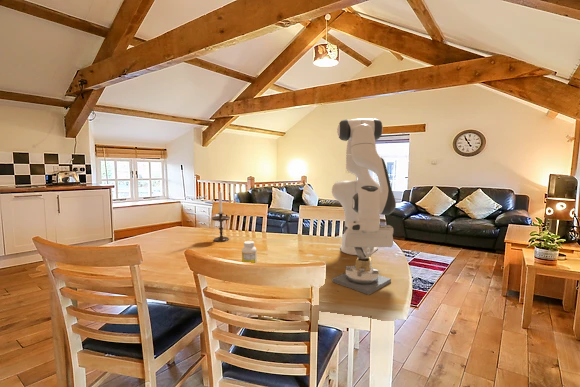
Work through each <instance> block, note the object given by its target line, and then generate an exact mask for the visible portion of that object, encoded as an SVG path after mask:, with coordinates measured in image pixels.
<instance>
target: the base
mask: <svg viewBox="0 0 580 387" xmlns="http://www.w3.org/2000/svg"><path fill="white" fill-rule="evenodd" d="M331 281H332V282H333V283H335V284H338V285H340V286H343V287H346V288H349V289H351V290H354V291H356V292H359V293H362V294H365V295H368V296H370V295H371V294H373V293H375V292H376V291H378V290H380V289H382V288H384V287H386V286H387V285H389V284H391V283H392V278H391V277H387V276H384V275H380V274H378V281H377V282H376V283H373V284H358V283H354V282H351V281H349V280H347V279H346V272H344V273H341V274H339V275H337V276H335V277H332V280H331Z"/></svg>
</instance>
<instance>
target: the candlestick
mask: <svg viewBox="0 0 580 387" xmlns="http://www.w3.org/2000/svg"><path fill="white" fill-rule="evenodd" d="M218 188H219V191H218V211H219V212H217V214H218V216H217V215H216V216H212V217H211V221H216V222H217V221H218V222H219V227H218V230H219V236H218V237H214V238H213V241H214V242H216V243H222V242H223V243H224V242H228V241H229V239H230V238H229V237H228V236H223V234H224V231H223V230H224V227H223V221H229V220H230V218H231V217H230V216H227V215H224V214H225V213H224V212H223V194H222V193H223V192H222V190H221V186H220V185H218Z"/></svg>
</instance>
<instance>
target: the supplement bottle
mask: <svg viewBox="0 0 580 387" xmlns="http://www.w3.org/2000/svg"><path fill="white" fill-rule="evenodd" d="M257 254H258V253H257V247H256V246H255V241H253V240H246V241H244V242H243V247H242V248H241V263H242V262H251V263H257V264H258V258H257V257H258V256H257Z"/></svg>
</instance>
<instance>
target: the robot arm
mask: <svg viewBox="0 0 580 387" xmlns="http://www.w3.org/2000/svg"><path fill="white" fill-rule="evenodd" d="M383 128H384V127H383V123H382V121H381V120H380V119H379V118H378V119H377V118H362V117H361V118H352V119H342V120H340V121H339V123H338V126H337V128H336V129H337V131H336V133H337V136H338V139H339V140H341V141H343V142H347V144H346V150H345V151H346V152H345V153H346V154H345V155H346V156H345V169H346V171H347V172H348V173H350V174H351V175H353V176H355V177H356V178H357V179H356V180H340V181H335V182H334V183H333V185H332V187H331V193H332V197H333V199H335V200H337V201H338V202H339V203H340V205H341V207H342V208H343V209H342V210H343V213H344V226H343V234H342V238H341V245H340V246H339V248H340V251H341V252H342V253H344V254H347V255H351V256H357V253H356V251H355V248H354V247H362V249H363V252H364V254H365V257H366V258H372V254H373V253H374V252H376V251H377V250H379V248H393V246H394V237H393V235H394V227H393V226H392V225H389V224H381V215H382V216H390V215H391V214H392V213H393V212H394V211H395V210H396V207H397V202H396V198H395V196H394V192H393V190H392V186H391V182H390V180H391V179H390V177H389V172H388V168H387V164H386V162H385V159H384V158H383V157H380V154H378V152H377V147H376V141H377V140H378V141H379V139H380V138H381V137H382V134H383V131H384V129H383ZM370 171H371V172H373V173H375V175H376V176H377V179H378V182H377V181H375V180H374V178H373V177H372V176H371V174H370Z"/></svg>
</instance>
